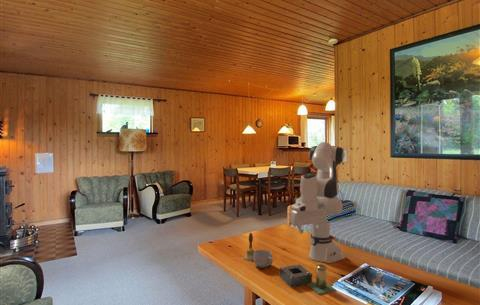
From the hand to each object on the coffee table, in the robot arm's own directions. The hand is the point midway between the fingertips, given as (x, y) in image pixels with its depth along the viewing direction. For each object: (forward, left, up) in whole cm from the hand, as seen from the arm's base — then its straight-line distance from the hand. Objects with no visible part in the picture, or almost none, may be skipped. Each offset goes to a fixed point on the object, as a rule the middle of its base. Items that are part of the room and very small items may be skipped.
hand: (309, 232), depth 140 cm
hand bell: (+17, -38, -27) cm, 50 cm away
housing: (+5, -4, -26) cm, 27 cm away
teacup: (+14, -24, -27) cm, 39 cm away
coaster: (-3, +7, -26) cm, 27 cm away
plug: (-3, +7, -26) cm, 27 cm away
